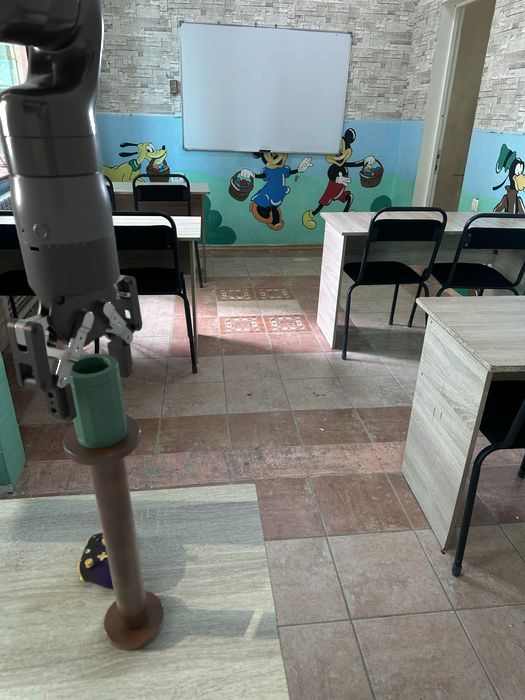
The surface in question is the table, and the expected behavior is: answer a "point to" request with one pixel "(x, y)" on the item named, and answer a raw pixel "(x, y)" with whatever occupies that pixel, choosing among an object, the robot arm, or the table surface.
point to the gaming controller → (95, 563)
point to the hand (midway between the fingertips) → (95, 395)
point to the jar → (98, 401)
